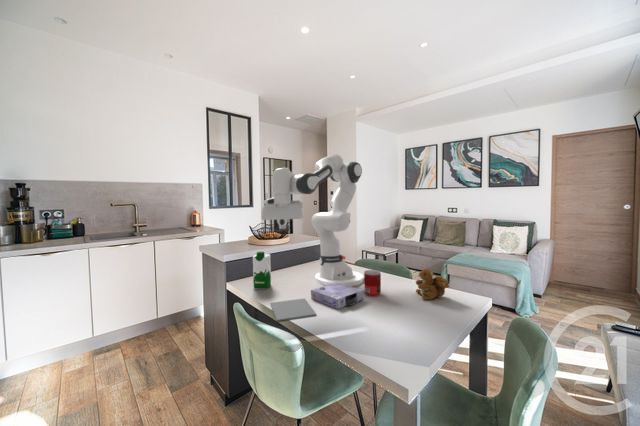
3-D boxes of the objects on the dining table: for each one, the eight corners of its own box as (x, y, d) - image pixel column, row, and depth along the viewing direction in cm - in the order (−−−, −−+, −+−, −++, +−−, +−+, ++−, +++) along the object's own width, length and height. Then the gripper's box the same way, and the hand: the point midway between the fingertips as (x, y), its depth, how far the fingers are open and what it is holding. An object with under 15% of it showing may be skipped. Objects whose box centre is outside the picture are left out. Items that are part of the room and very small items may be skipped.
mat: (304, 299, 126) (304, 298, 126) (316, 315, 108) (316, 314, 108) (270, 304, 121) (270, 302, 121) (276, 321, 103) (276, 319, 103)
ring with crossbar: (335, 274, 176) (335, 267, 176) (372, 282, 157) (372, 274, 157) (305, 284, 155) (305, 276, 155) (343, 295, 136) (343, 286, 136)
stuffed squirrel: (414, 292, 134) (414, 266, 134) (444, 293, 132) (444, 266, 131) (418, 299, 124) (418, 271, 124) (450, 300, 122) (450, 272, 121)
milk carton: (251, 291, 140) (250, 253, 139) (257, 285, 149) (256, 250, 148) (268, 291, 139) (267, 253, 138) (272, 286, 148) (272, 250, 147)
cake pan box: (339, 311, 113) (365, 299, 124) (339, 299, 112) (365, 288, 124) (310, 300, 127) (336, 290, 139) (309, 289, 126) (335, 280, 138)
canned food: (380, 296, 128) (380, 274, 128) (364, 295, 130) (363, 273, 129) (380, 291, 136) (380, 270, 135) (364, 290, 137) (364, 269, 137)
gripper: (300, 200, 138) (301, 227, 138) (260, 201, 132) (261, 228, 132) (303, 200, 132) (304, 228, 132) (261, 200, 126) (262, 230, 126)
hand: (282, 228), depth 132 cm, fingers closed
